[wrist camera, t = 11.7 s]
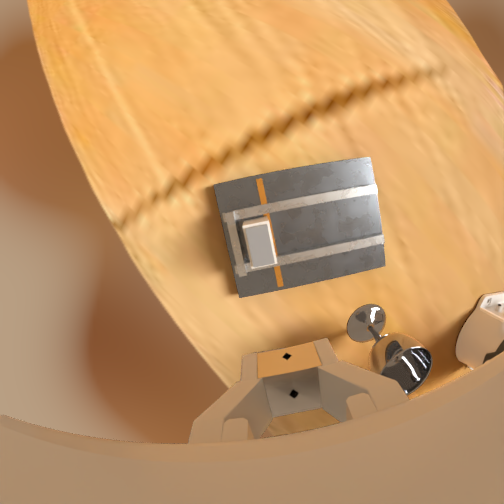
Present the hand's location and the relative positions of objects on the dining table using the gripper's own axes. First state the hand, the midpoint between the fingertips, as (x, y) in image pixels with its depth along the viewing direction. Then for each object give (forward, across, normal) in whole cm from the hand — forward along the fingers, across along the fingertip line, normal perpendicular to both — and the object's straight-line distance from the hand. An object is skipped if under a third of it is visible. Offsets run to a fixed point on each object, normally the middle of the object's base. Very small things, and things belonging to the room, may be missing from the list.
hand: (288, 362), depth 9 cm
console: (+31, +6, 0) cm, 32 cm away
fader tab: (+29, -1, 0) cm, 29 cm away
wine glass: (+31, +14, -18) cm, 39 cm away
